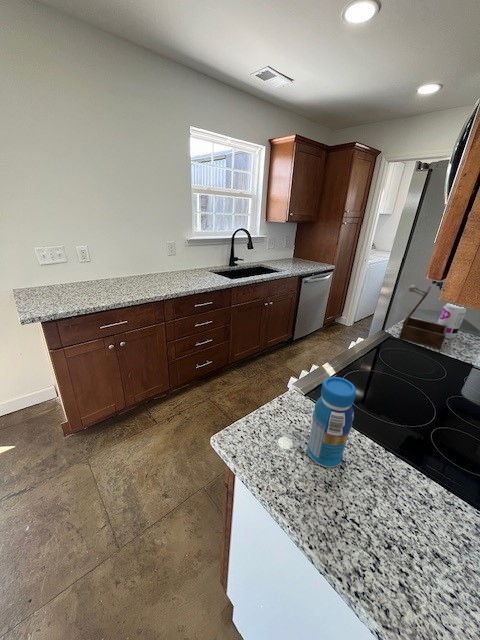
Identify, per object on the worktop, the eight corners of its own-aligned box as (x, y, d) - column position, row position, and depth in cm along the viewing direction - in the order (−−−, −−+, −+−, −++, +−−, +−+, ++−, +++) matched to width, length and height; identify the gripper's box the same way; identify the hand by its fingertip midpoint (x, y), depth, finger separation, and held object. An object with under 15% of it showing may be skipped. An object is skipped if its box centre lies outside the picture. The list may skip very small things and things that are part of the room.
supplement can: (438, 338, 122) (450, 307, 116) (431, 330, 129) (441, 301, 123) (458, 340, 120) (471, 310, 114) (450, 332, 128) (461, 303, 121)
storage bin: (442, 339, 121) (447, 326, 118) (440, 350, 112) (445, 335, 109) (403, 329, 129) (407, 316, 127) (398, 338, 120) (402, 324, 118)
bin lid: (431, 286, 117) (415, 279, 120) (428, 293, 108) (411, 285, 111) (408, 316, 126) (394, 308, 129) (404, 324, 117) (388, 316, 120)
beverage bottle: (299, 450, 64) (310, 383, 56) (319, 433, 69) (332, 369, 61) (329, 476, 58) (347, 405, 50) (349, 455, 63) (368, 387, 55)
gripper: (484, 284, 133) (492, 300, 117) (425, 279, 145) (425, 293, 130) (489, 270, 130) (498, 284, 114) (428, 266, 142) (428, 278, 126)
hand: (459, 289), depth 122 cm, fingers open, 13 cm apart
